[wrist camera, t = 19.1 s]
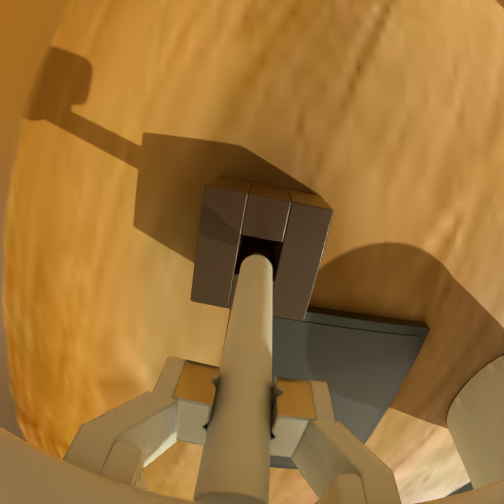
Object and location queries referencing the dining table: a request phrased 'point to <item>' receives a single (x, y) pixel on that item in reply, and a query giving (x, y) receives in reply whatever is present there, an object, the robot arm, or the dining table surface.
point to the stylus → (242, 398)
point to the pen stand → (266, 227)
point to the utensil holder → (480, 424)
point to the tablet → (347, 362)
